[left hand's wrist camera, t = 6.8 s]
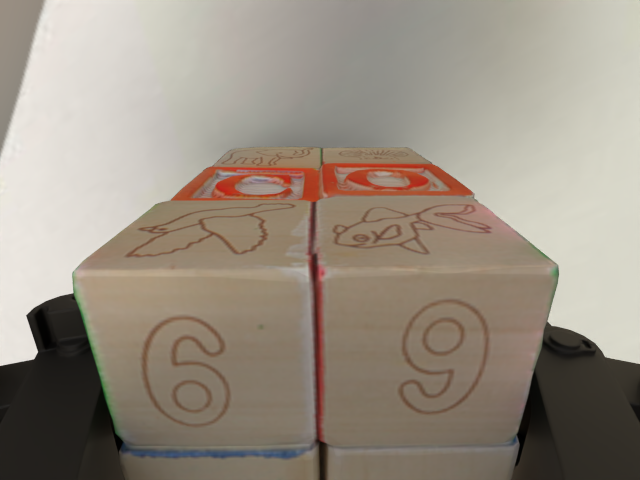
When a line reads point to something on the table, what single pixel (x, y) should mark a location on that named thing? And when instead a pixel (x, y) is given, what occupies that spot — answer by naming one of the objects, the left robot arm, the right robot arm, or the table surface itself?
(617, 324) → the table surface
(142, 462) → the stack of blocks
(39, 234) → the table surface
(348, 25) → the table surface
